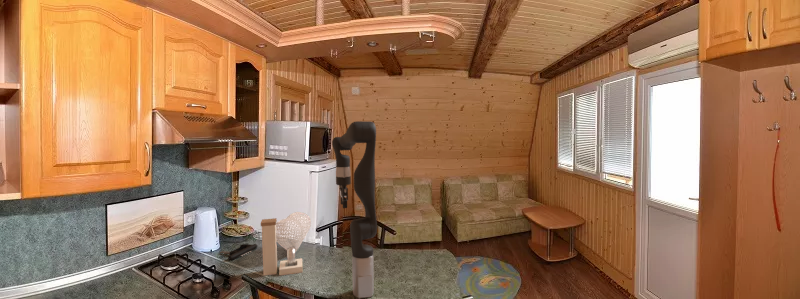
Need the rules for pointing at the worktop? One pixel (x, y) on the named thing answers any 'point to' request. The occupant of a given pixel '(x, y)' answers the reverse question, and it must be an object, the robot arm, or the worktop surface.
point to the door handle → (240, 251)
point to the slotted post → (274, 251)
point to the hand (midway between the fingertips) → (343, 206)
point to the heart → (290, 218)
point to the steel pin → (291, 256)
